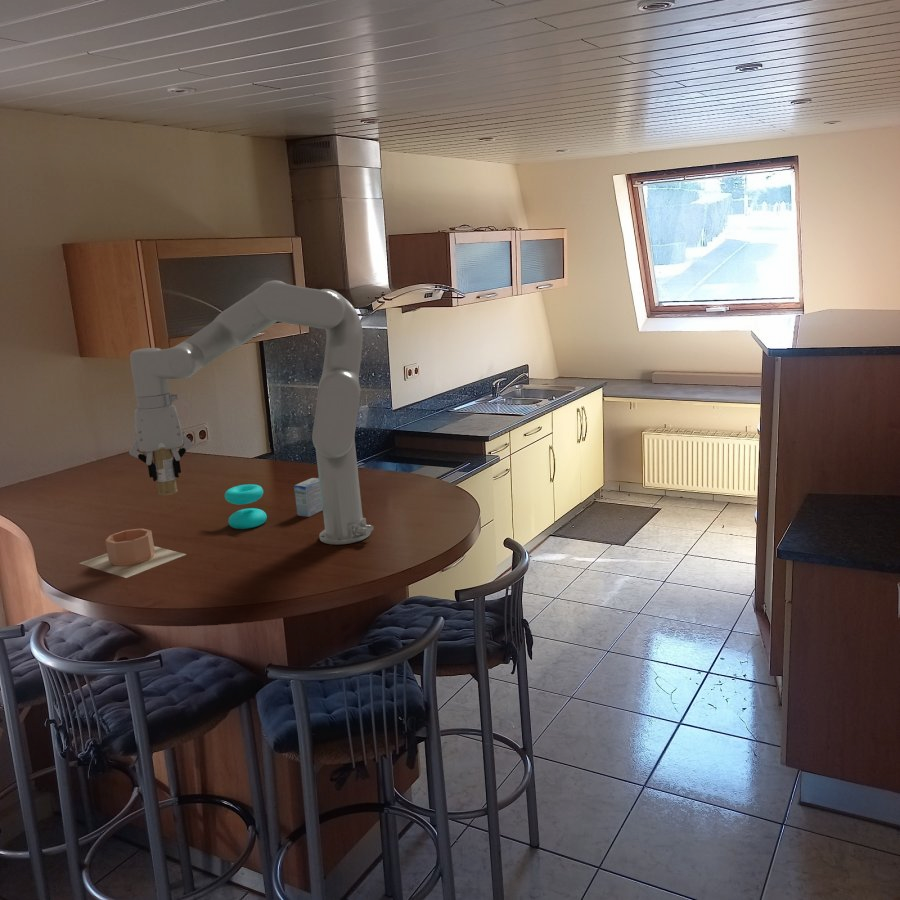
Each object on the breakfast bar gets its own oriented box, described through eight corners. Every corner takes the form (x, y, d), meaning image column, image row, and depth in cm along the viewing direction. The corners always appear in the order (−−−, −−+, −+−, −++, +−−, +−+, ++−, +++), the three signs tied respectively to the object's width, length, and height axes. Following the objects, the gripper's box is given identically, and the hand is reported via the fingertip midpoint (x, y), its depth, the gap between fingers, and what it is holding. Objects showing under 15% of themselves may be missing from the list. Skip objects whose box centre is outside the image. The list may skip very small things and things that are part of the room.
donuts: (215, 491, 218) (244, 481, 226) (221, 527, 220) (249, 516, 228) (241, 495, 212) (270, 484, 220) (247, 532, 214) (275, 520, 222)
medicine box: (315, 507, 232) (312, 477, 230) (328, 508, 229) (324, 478, 227) (297, 515, 225) (293, 485, 223) (309, 517, 223) (305, 486, 221)
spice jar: (154, 494, 197) (145, 438, 194) (171, 489, 200) (163, 434, 197) (164, 496, 194) (156, 440, 191) (182, 491, 197) (173, 436, 194)
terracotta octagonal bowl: (162, 555, 198) (158, 532, 196) (125, 569, 190) (121, 545, 189) (139, 549, 203) (135, 526, 202) (102, 562, 196) (98, 539, 195)
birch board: (187, 560, 197) (186, 554, 197) (127, 584, 185) (126, 577, 185) (139, 547, 209) (138, 541, 209) (79, 569, 197) (78, 563, 197)
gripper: (190, 395, 198) (200, 469, 203) (115, 404, 192) (127, 480, 196) (193, 399, 192) (204, 475, 196) (115, 409, 185) (128, 487, 190)
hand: (165, 477), depth 196 cm, fingers closed on spice jar, 4 cm apart
